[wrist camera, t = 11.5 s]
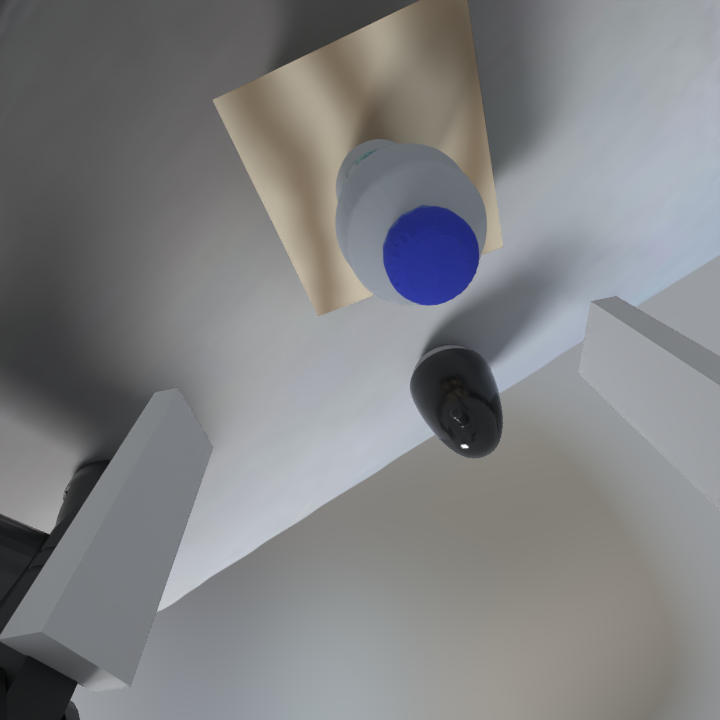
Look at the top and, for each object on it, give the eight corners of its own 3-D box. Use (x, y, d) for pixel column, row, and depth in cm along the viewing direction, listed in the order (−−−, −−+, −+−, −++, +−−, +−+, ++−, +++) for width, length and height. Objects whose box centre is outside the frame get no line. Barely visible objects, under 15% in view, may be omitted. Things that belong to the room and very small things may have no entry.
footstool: (319, 284, 41) (318, 316, 35) (236, 104, 32) (212, 100, 25) (473, 225, 39) (503, 246, 32) (433, 11, 29) (464, -22, 23)
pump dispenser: (458, 317, 45) (508, 393, 32) (491, 371, 50) (546, 455, 37) (389, 359, 48) (411, 444, 35) (427, 406, 53) (459, 496, 40)
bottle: (433, 184, 29) (573, 267, 12) (372, 244, 31) (422, 382, 15) (377, 112, 26) (463, 93, 10) (315, 183, 29) (295, 269, 12)
